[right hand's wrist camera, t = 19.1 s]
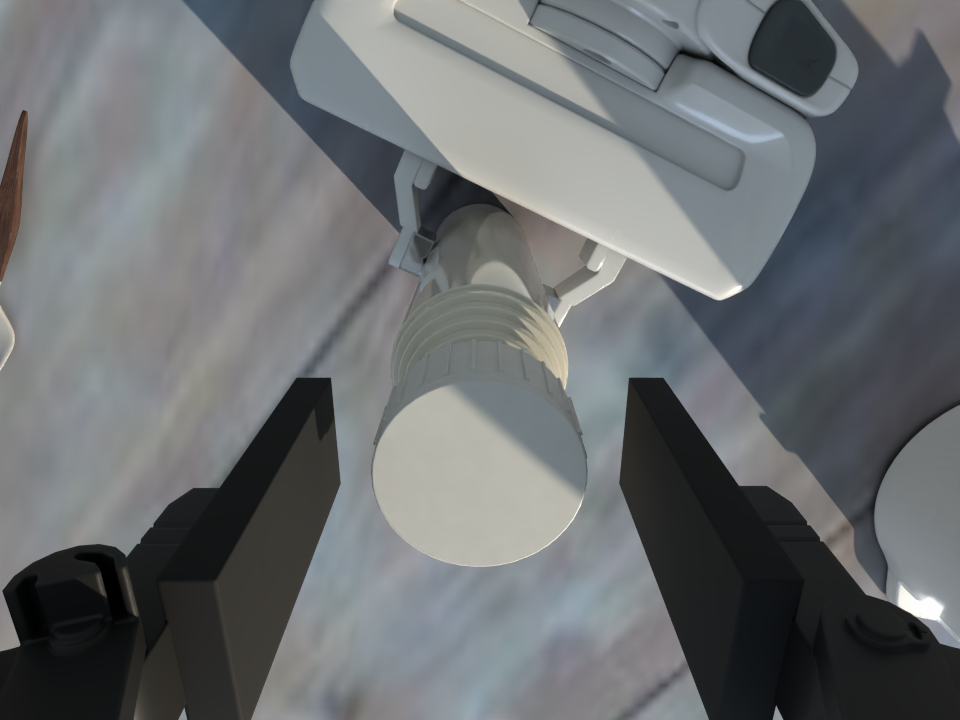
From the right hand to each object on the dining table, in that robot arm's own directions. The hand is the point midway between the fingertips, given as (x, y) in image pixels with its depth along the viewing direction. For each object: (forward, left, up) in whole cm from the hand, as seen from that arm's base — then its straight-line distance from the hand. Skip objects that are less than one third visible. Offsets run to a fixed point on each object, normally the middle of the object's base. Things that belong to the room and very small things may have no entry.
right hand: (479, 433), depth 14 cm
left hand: (0, -1, -14) cm, 14 cm away
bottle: (0, 0, -20) cm, 20 cm away
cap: (0, 0, +2) cm, 2 cm away
